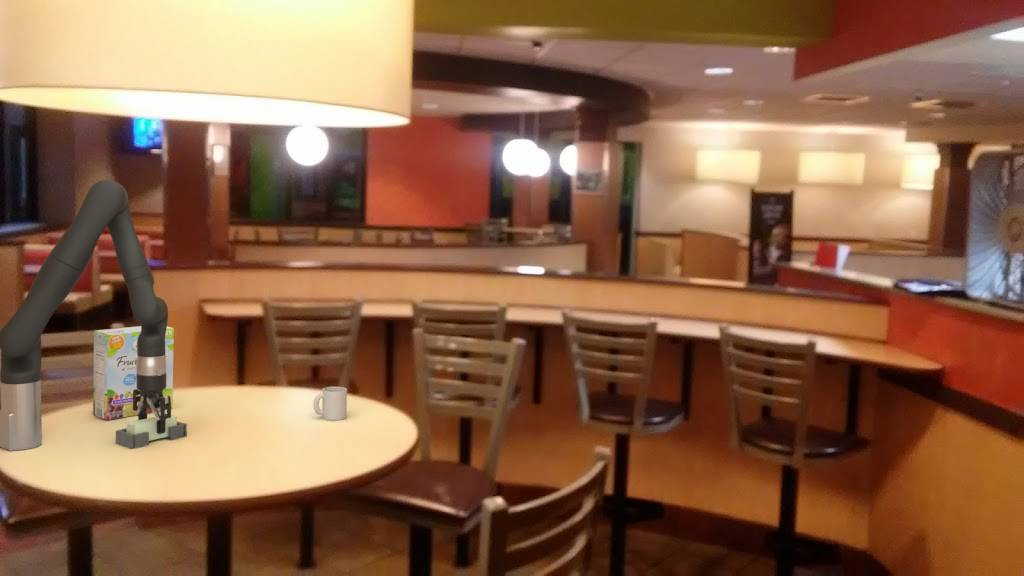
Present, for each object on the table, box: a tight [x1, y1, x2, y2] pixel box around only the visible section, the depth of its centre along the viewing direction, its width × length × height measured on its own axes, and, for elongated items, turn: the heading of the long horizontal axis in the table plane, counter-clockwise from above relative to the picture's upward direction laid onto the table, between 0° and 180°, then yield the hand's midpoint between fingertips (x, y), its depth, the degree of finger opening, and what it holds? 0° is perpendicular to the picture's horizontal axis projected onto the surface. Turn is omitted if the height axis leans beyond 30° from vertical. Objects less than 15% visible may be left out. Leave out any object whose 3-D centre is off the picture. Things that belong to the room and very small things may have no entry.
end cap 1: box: [115, 428, 150, 450], centre depth 242 cm, size 5×7×4 cm
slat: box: [125, 414, 178, 442], centre depth 247 cm, size 12×4×5 cm, turn 144°
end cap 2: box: [163, 420, 188, 441], centre depth 252 cm, size 5×7×4 cm
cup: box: [313, 386, 348, 422], centre depth 276 cm, size 7×10×9 cm
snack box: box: [92, 325, 175, 421], centre depth 273 cm, size 22×9×26 cm, turn 143°
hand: (151, 430), depth 247 cm, fingers open, 8 cm apart
